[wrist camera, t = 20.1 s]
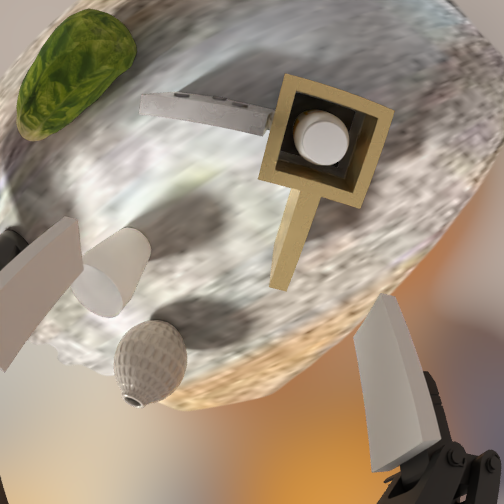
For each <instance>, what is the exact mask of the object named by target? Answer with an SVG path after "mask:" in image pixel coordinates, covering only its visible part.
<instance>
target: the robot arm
mask: <svg viewBox="0 0 504 504" xmlns="http://www.w3.org/2000/svg"><path fill="white" fill-rule="evenodd" d="M83 271H84V268H83V261H82V253H81V245H80V236H79V226H78V219H75V218H71V217H67V216H65V217H63V218H62V219H61V220H59V221H58V222H57V223H56V224H54V225H53V226H52V227H50V228H49V229H48V230H47V231H45V232H44V233H43V234H42V235H41V236H39V237H38V238H37V239H36V240H35V241H33V242H32V243H31V244H30V245H28V244H27V242H26V241H25V240H24V239H23V238H22V237H21V236H20V235H19V234H17V233H16V232H14V231H11V230H6V231H4V232H3V233H2V234H1V235H0V370H1V371H3V372H6V370H7V368H8V367H9V366H10V364H11V363H12V361H13V360H14V358H15V357H16V355H17V354H18V352H19V351H20V349H21V348H22V347H23V345H24V344H25V342H26V341H27V340H28V338H29V337H30V336H31V334H32V333H33V332H34V330H35V329H36V328H37V326H38V325H39V324H40V322H41V321H42V320H43V319H44V317H45V316H46V315H47V313H48V312H49V311H50V310H51V308H52V307H53V306H54V305H55V303H56V302H57V301H58V300H59V299H60V297H61V296H62V295H63V294H64V293H65V291H66V290H67V289H68V288H69V287H70V285H71V284H72V283H73V282H74V281H75V280H76V279H77V277H78V276H79V275H80V274H81V273H82V272H83ZM354 343H355V349H356V354H357V360H358V365H359V372H360V378H361V384H362V390H363V397H364V405H365V411H366V420H367V428H368V436H369V446H370V457H371V469H372V472H384V471H390V470H392V469H394V468H396V467H398V466H399V465H400V469H401V471H400V472H398V473H396V474H395V475H392V476H390V477H389V478H387V479H386V480H385V481H384V483H387V482H389V481H391V480H392V482H391V484H389V485H388V488H387V489H386V491H385V492H384V494H383V495H382V497H381V498H380V500H379V501H378V503H377V504H497V499H498V492H499V484H500V476H501V461H500V457H499V456H498V454H497V453H496V452H495V451H493V450H488V451H486V452H484V453H483V454H481V455H480V456H476V455H471V454H466V452H465V450H464V448H463V447H462V446H461V445H460V444H459V443H457V442H452V439H451V436H450V432H449V428H448V424H447V421H446V416H445V413H444V409H443V406H441V404H442V402H441V399H440V396H439V392H438V389H437V386H436V383H435V381H434V380H433V378H432V377H431V375H430V374H429V372H427V371H423V370H422V367H421V364H420V361H419V358H418V355H417V353H416V350H415V347H414V344H413V341H412V338H411V336H410V333H409V330H408V328H407V325H406V322H405V320H404V317H403V315H402V312H401V310H400V307H399V305H398V302H397V300H396V298H395V296H391V295H387V294H382V293H380V295H379V296H378V298H377V300H376V302H375V303H374V305H373V307H372V308H371V310H370V312H369V313H368V315H367V317H366V318H365V320H364V322H363V323H362V325H361V326H360V328H359V330H358V331H357V333H356V334H355V336H354ZM465 494H467V496H466V500H465V501H463V502H461V503H460V497H461V496H463V495H465ZM0 504H9V503H8V501H7V498H6V495H5V491H4V488H3V484H2V481H1V477H0Z"/></svg>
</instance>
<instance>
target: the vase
mask: <svg viewBox="0 0 504 504" xmlns="http://www.w3.org/2000/svg"><path fill="white" fill-rule="evenodd" d="M186 367H187V351H186V347H185V344H184V341H183V339H182V337H181V335H180V333H179V332H178V331H177V329H176V328H175V327H174V326H173V325H171V324H169V323H168V322H165V321H161V320H151V321H146V322H143V323H140V324H138V325H136V326H134V327H133V328H131V329H130V330H129V331H128V332H127V333H126V334H125V335H124V336H123V338H122V339H121V341H120V342H119V344H118V347H117V349H116V352H115V356H114V373H115V377H116V381H117V384H118V386H119V388H120V390H121V392H122V398H123V400H124V401H125V402H126V403H128V404H129V405H131V406H133V407H137V408H144V407H145V406H146V405H147V404H152V403H156V402H158V401H161V400H163V399H165V398H166V397H168V396H169V395H170V394H172V393H173V392H174V391H175V390H176V388H177V387H178V386H179V385H180V383H181V381H182V379H183V377H184V374H185V371H186Z"/></svg>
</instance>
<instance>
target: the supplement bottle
mask: <svg viewBox="0 0 504 504" xmlns="http://www.w3.org/2000/svg"><path fill="white" fill-rule="evenodd" d="M293 137H294V143H295V146H296V148H297V150H298V152H299V154H300V155H301V156H302V157H303V158H304V159H305V160H307V161H309V162H311V163H313V164H316V165H331V164H334V163H336V162H338V161H340V160H341V159H342V158H343V157H344V155H345V153H346V151H347V149H348V145H349V134H348V130H347V128H346V126H345V125H344V123H343V122H342V121H341V120H340V119H339V118H338V117H336V116H335V115H333V114H331V113H328V112H326V111H323V110H320V109H310V110H306V111H304V112H302V113H301V114H300V115H299V116H298V117H297V118H296V120H295V122H294V124H293Z"/></svg>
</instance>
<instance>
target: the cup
mask: <svg viewBox="0 0 504 504" xmlns="http://www.w3.org/2000/svg"><path fill="white" fill-rule="evenodd" d="M150 256H151V246H150V243H149V241H148V239H147V238H146V237H145V235H144V234H142V233H141V232H140V231H138V230H136V229H134V228H129V227H128V228H123V229H121V230H119V231H118V232H116V233H114V234H113V235H111V236H110V237H108V238H107V239H105V240H104V241H102V242H101V243H99V244H98V245H96V246H95V247H93V248H92V249H90V250H89V251H87V252H86V253H85V254H84V255H83V256H82V261H83V268H84V271H83V272H82V273H81V274H80V275H79V276H78V277H77V279H76V280H75V281H74V282H73V283H72V284H71V285H70V286H71V289H72V291H73V293H74V295H75V296H76V298H77V299H78V300H79V301H80V303H81V304H82V305H83V306H84V307H86V308H87V309H88V310H90V311H91V312H93V313H95V314H97V315H99V316H102V317H108V318H111V317H115V316H117V315H119V314H120V312H121V311H122V310H123V308H124V307H125V306H126V304H127V303H128V302H129V301H130V300H131V298H132V296H133V294H134V292H135V289H136V287H137V285H138V283H139V280H140V278H141V276H142V274H143V271H144V269H145V267H146V265H147V262H148V260H149V258H150Z"/></svg>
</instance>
